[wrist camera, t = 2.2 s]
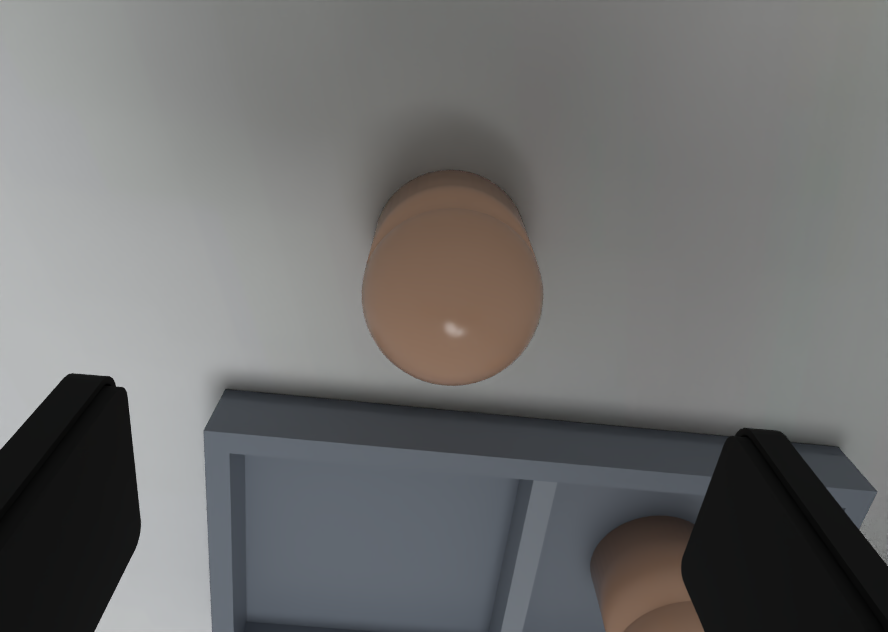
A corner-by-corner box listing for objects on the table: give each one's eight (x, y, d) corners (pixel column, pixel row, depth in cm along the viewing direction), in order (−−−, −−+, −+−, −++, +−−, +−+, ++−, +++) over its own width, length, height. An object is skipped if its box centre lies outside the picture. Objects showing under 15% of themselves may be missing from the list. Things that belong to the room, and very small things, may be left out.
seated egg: (728, 521, 26) (810, 672, 20) (694, 610, 28) (759, 771, 22) (604, 510, 26) (652, 661, 20) (579, 601, 28) (615, 762, 22)
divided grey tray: (838, 446, 25) (877, 491, 23) (743, 660, 30) (767, 714, 28) (225, 389, 24) (203, 430, 22) (231, 621, 29) (213, 674, 27)
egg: (537, 179, 21) (574, 251, 15) (512, 319, 23) (537, 430, 17) (380, 161, 21) (358, 228, 15) (369, 304, 23) (346, 412, 17)
